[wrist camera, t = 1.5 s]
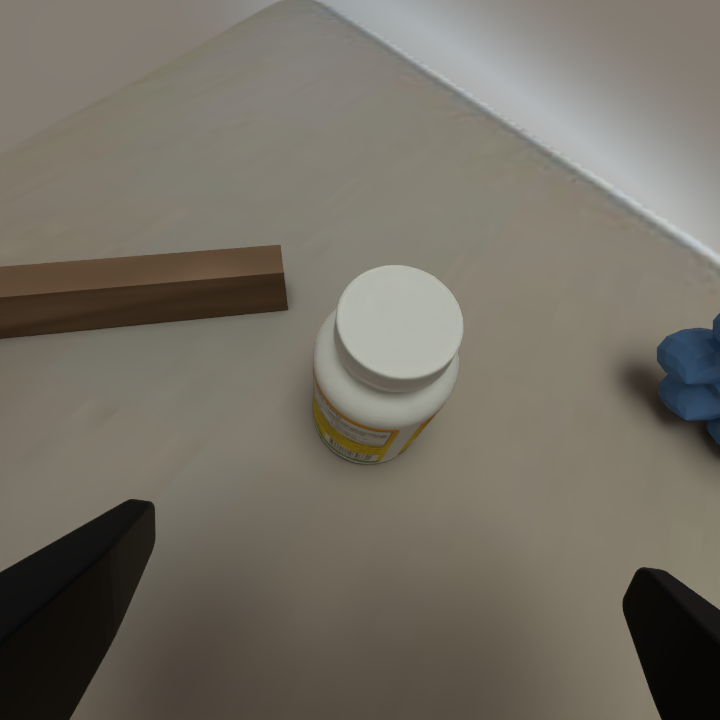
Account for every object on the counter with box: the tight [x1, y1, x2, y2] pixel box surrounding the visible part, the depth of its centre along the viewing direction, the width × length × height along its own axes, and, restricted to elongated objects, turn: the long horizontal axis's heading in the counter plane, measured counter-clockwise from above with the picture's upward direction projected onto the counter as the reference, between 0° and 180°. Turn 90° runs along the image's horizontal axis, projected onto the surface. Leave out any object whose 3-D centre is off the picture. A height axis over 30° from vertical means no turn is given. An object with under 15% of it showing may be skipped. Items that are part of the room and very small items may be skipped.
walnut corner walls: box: [0, 245, 288, 338], centre depth 19 cm, size 16×17×4 cm
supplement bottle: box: [313, 265, 463, 464], centre depth 18 cm, size 5×5×10 cm
